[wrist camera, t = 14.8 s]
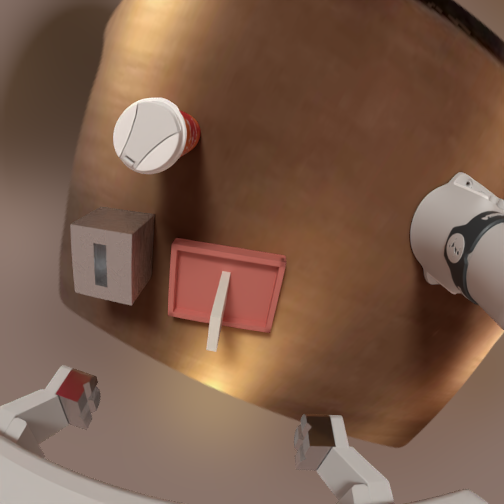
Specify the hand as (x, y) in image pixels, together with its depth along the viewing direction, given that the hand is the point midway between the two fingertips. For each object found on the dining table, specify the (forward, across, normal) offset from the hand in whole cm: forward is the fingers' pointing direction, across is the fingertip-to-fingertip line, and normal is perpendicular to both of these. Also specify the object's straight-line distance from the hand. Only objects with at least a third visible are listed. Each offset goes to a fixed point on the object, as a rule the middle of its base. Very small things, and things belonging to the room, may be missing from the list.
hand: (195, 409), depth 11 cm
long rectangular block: (+34, +1, +13) cm, 37 cm away
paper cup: (+35, +10, -8) cm, 38 cm away
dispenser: (+35, +17, +9) cm, 40 cm away
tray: (+35, +1, +13) cm, 37 cm away
